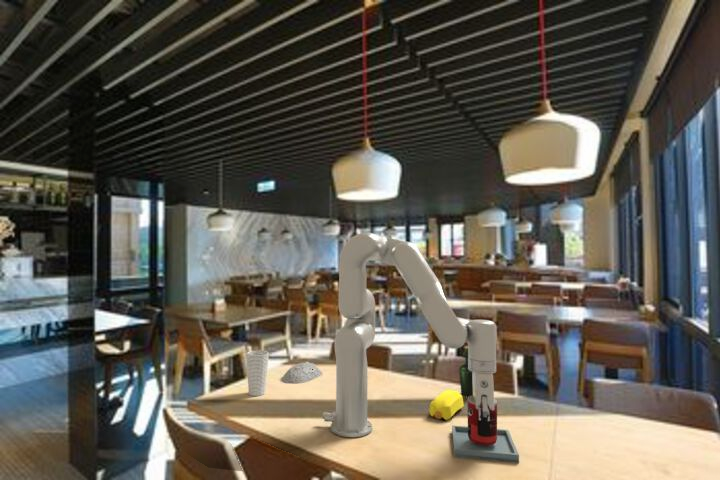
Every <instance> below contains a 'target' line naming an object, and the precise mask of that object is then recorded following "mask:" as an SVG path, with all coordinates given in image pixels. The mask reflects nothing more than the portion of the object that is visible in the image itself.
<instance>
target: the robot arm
mask: <svg viewBox="0 0 720 480" xmlns="http://www.w3.org/2000/svg"><path fill="white" fill-rule="evenodd" d="M368 261H371V262H373V261H375V262H379V263H383V264H387V265H390V266H394V267H395V268H396V270H397V271H398V273H399V274H400V276H401V278H402V279H403V281H404V283H405V284H406V285H407V287H408V289H410V292H411V293H412V295H413V296H414V299H415V300H416V302H417V303H416V304H418V306H419V308H420V310H421V311H422V314H423V316H424V318H425V320H426V321H427V323H428V325H429V326H430V328H431V330H432V331H433V333H434V334H435V335H436V337H437V339H438V340H439V341H440V343H442V346H444V347H446V348H449V349H453V350H455V349H459V348H461V347H462V346H464V344H465V343H466V344H467V347H468V370H470V371H472V381H473V398H474V402H475V406H476V409H477V410H478V416H479V419H478V435H480V436H490V417H489V408H490V410H492V411H494V399H495V392H494V391H495V388H494V375H493V374H495V373H496V372H497V326H496V323H495V322H494V321H492V320H489V319H468V318H463V317H458V316H457V315H456V314H455V312H454V311H453V309H452V307H451V306H450V304H449V302H448V301H447V298H446V296H445V294H444V293H445V292H444V290H443V287H442V284H441V282H440V280H439V279H438V277H437V275H436V274H435V272H434V271H433V270H432V268H431V267H430V265H429V264H428V262H427V261H426V259H425V257H424V255H423V251H422V248H421V247H420V246H419V245H418V244H416V243H414V242H410V241H404V240H399V239H395V238H391V237H388V236H384V235H381V234H377V233H374V232H362V233H357V234H356V235H353V236H352V237H350V239H348V240H347V241H346V242H345V244H344V245H343V247H342V248H341V250H340V255H339V263H338V265H339V270H338V271H339V273H338V275H339V276H338V278H339V279H338V310H339V313H340V315H341V316H342V317H343V318H344V319H346V320H347V321H346V322H347V324H345V325H344V326H342V327H341V328H339V330H338V331H337V333H336V335H335V337H334V352H335V362H336V368H335V369H336V372H335V373H336V379H335V381H336V382H335V383H336V384H335V386H336V388H335V390H336V391H335V393H336V394H335V411H333V412H332V413H331V412H325V411H324V412H322V415H321V416H322V419H323V420H324V422H328V423H330V422H331V423H330V431H331V432H332V433H333V434H335V436H336V435H337V436H339V437H344V438H359V437H360V438H361V437H364V436H367V435H368V434H370V433H371V432H372V431H373V424H372V422H370V421H369V420H368V380H369V379H368V378H369V377H368V360H367V359H368V358H367V357H368V356H367V349H368V348H370V346H372V344H373V343H374V340H375V337H376V336H375V335H376V299H375V297H374V294H373V293H372V292H371V291H370V289H368V288H367V263H368ZM481 399H482V400H481ZM480 403H482V408H480ZM487 404H488V406H487ZM481 411H482V412H481Z"/></svg>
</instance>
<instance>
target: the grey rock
mask: <svg viewBox="0 0 720 480" xmlns="http://www.w3.org/2000/svg"><path fill="white" fill-rule="evenodd" d="M312 369H313V370H312ZM321 371H322V370H320V369H319V367H318V366H317V365H316V364H315V363H313V362H309V361H305V362H299V363H298V364H296V365H293V366H291V367H289V369H288V370H286V372H284V375H283V377H281V378H280V382H281V383H282V384H292V385H293V384H294V385H296V384H304V383H307V382H312V381H313V380H316V379H318V378H320V377H321V376H322V375H323V374H324V372H323V371H322V372H323V373H322V372H321ZM320 375H321V376H320ZM319 376H320V377H319ZM317 377H318V378H317ZM315 378H316V379H315Z"/></svg>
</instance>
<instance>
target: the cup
mask: <svg viewBox="0 0 720 480" xmlns="http://www.w3.org/2000/svg"><path fill="white" fill-rule="evenodd" d="M245 356H246V368H247V385H248V387H247V388H248V395H249V396H250V397H259V396H263V395H265V394H266V386H267V376H268V366H269V356H270V352H269V351H267V350H259V349H258V350H250V351H247V352H246V355H245Z"/></svg>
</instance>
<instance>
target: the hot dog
mask: <svg viewBox="0 0 720 480" xmlns="http://www.w3.org/2000/svg"><path fill="white" fill-rule="evenodd" d="M463 397H464V396H463V395H462V394H461V392H460V391H458V390H452V389H447V390H444V391H442V392H441V393H439V395H437V396H436V397H435V398H434V399H432V401H431V402H430V405H429V411H428V412H429V414H430V416H431V417H432V418H436V419H437V420H441V419H444V420H445V421H449V419H451V418H452V416H454V415H455V414H456V412H458V411H459V410H461V409H462V408H463V407H464V406H465V405H464V398H463Z"/></svg>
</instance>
